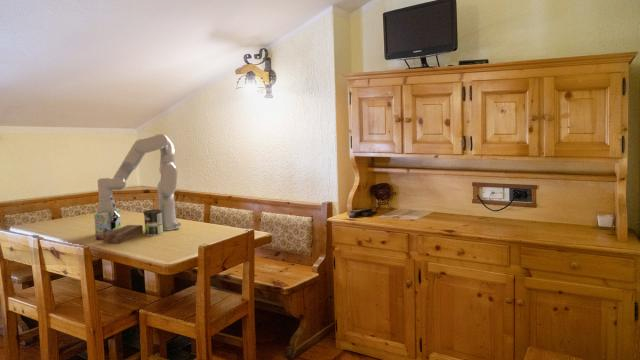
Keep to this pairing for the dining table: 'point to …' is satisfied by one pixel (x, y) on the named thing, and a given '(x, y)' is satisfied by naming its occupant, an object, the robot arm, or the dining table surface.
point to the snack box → (104, 224)
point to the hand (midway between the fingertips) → (108, 228)
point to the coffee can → (153, 222)
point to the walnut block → (123, 234)
